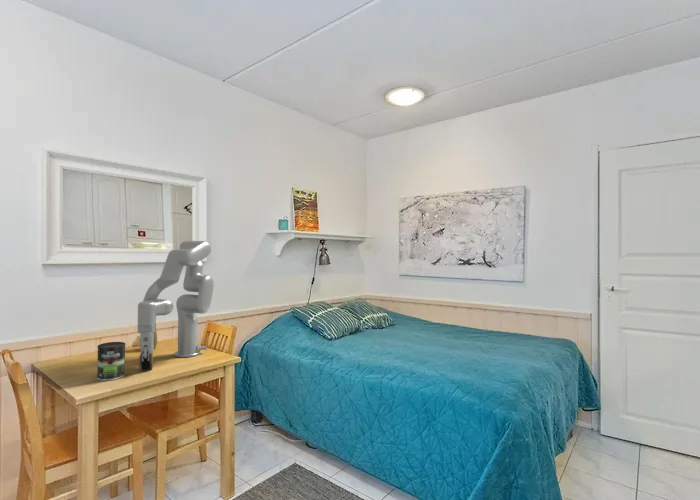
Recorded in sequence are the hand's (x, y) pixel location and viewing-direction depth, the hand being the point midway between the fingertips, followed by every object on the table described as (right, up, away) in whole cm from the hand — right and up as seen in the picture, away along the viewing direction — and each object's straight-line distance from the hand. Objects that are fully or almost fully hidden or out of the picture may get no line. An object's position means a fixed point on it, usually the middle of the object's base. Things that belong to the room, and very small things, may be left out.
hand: (146, 367), depth 176 cm
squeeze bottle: (-17, -1, +34) cm, 38 cm away
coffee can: (-9, -1, -11) cm, 14 cm away
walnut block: (0, -1, 0) cm, 1 cm away
